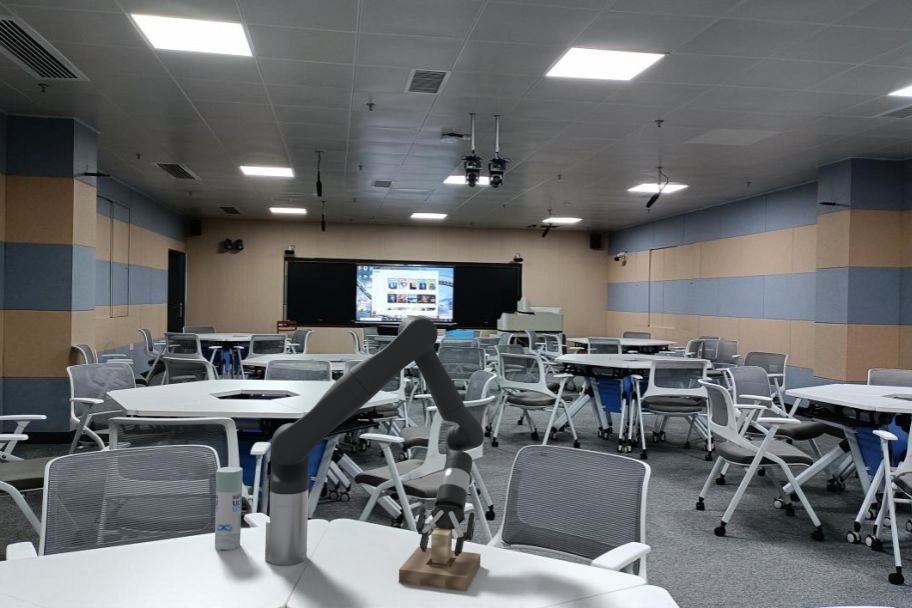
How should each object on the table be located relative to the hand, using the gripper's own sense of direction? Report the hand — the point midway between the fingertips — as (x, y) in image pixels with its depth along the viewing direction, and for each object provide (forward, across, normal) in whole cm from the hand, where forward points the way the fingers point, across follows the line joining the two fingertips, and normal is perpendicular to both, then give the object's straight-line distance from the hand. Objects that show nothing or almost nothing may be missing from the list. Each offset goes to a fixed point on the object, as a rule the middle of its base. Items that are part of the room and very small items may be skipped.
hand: (439, 552), depth 152 cm
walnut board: (+3, 0, +5) cm, 6 cm away
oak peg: (+3, 0, +5) cm, 6 cm away
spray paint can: (+3, -58, +6) cm, 58 cm away
